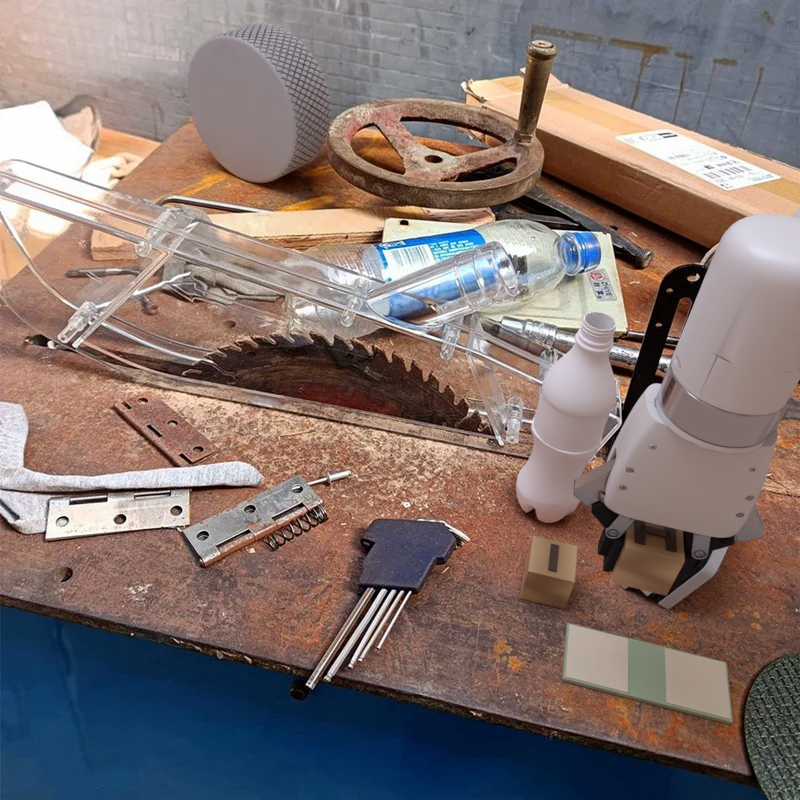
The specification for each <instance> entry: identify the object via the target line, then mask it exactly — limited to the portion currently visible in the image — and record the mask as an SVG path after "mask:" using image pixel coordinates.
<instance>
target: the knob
mask: <svg viewBox="0 0 800 800" xmlns="http://www.w3.org/2000/svg"><path fill="white" fill-rule="evenodd" d="M305 45H306V44H304V43H303V41H302V40H300V38H297V36H296V35H295V34H294V33H293V34H292V33H291V31H289V30H286V28H283V27H281V26H279V25H276V24H273V23H267V22H266V23H265V22H263V23H255V24H252V25H247V26H244V27H240V28H237V29H233V30H230V31H226V32H223V33H219V34H215V35H214V36H211V37H208V38H207V39H206V40H204V42H203V41H202V43H201V44H200V45H199V46H198V47H197V49H196V50H195V52H194V54H193V56H192V58H191V61H190V63H189V67H188V72H187V81H186V89H187V100H188V105H189V110H190V114H191V116H192V120H193V123H194V126H195V128H196V130H197V133H198V134H199V136H200V138H201V141H202V142H203V144H204V145H205V147H206V149H207V150H208V151H209V153H210V154H211V155H212V157H213V158H214V159H215V160H216V161H217V162H218V163H219V164H220V165H221V166H222V167H223V168H224V169H226V171H228V172H230V173H231V174H232V175H234V176H235V177H237V178H240V179H241V180H244V181H247V182H250V183H257V184H259V183H260V184H264V183H269V182H274V181H275V180H278V179H280V178H281V177H284V176H286V175H288V174H289V173H292V172H294V171H296V170H298V169H300V168H301V167H303V166H306V165H308V164H309V163H311V162H313V161H314V160H315V159H317V157H318V156H319V155H320V154H321V153H322V152H323V151H322V150H324V148H325V147H326V146H325V145H327V142H328V138H327V133H328V134H329V132H328V130H329V127H330V126H332V118H333V117H332V115H333V113H332V110H333V109H332V101H331V94H330V91H329V89H328V88H329V87H328V85H327V84H328V83H327V81H326V78H325V75H324V74H323V71H322V70H321V68H322V67H320V66H319V65H320V64H319V63H317V61H318V60H317V59H315V56H313V53H312V52H311V50H310V49H308V47H307V46H305Z"/></svg>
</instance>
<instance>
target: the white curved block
mask: <svg viewBox="0 0 800 800" xmlns="http://www.w3.org/2000/svg"><path fill="white" fill-rule="evenodd" d="M728 549H729V546H728V547H725V548H721V549H717V550H714V551H710V552H708V556H707V557H706V558H705V559H698V560H697V562H696V564H695V565H694V567H693V569H692V571H691V573H690V574H689V576H683V578H682V579H681V581H680V583H679V585H678V587H677V589H673V588H670V590H669V592H668V594H667V596H665V595H661V594H657V593H653V592H649V591H645V590H641V589H639V590H640V591H641V592H642V593H643V594H644V595H645V596H646V597H648V596H650V595H651V596H655V595H656V594H657V597H656V599H657V600H658V603H657V604H658V605H659V606H660V607H662V608H664V609H666V610H670V609H671V608H673V607H674V606H676V605H677V604H678V603H680V602H681V601H682V600H684V599H685V598H686V597H688V596H689V595H690V594H691V593H693V592H694V591H695V590H697V589H698V588H700V587H701V586H702V585H704V584H705V583H707V582H708V581H709V580H711V579H712V578H713V576H715V575H716V573H717V572H718V570H719V568H720V566H721V564H722V562H723V560H724V557H725V555H726V553H727V550H728ZM620 586H621V587H622V588H623V590H626V589H627V588H630V587H629V586H625V585H620Z"/></svg>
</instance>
